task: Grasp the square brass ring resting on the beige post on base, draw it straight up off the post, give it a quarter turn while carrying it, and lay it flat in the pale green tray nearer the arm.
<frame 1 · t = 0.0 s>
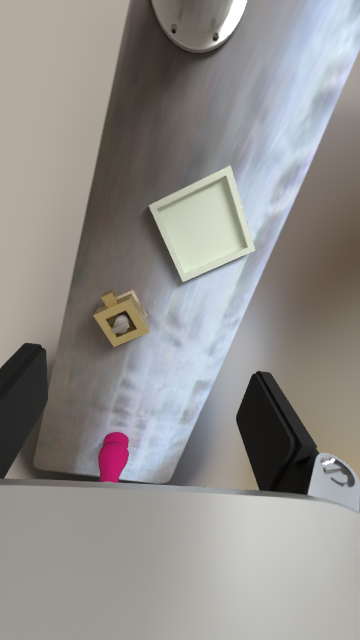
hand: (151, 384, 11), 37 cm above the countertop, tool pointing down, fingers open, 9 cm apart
ring: (123, 316, 46), point 4 cm above the countertop, touching beige post on base
beige post on base: (126, 308, 49), on the countertop
pepper mill: (116, 439, 66), on the countertop
tray: (202, 227, 44), on the countertop
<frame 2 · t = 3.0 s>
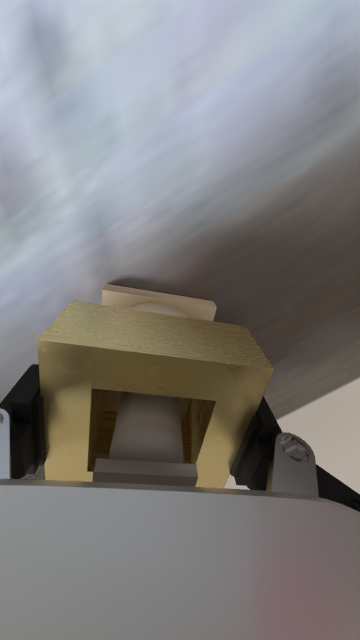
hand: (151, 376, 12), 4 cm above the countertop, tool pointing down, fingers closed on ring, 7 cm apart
ring: (151, 382, 11), point 4 cm above the countertop, touching gripper, beige post on base
beige post on base: (153, 339, 15), on the countertop
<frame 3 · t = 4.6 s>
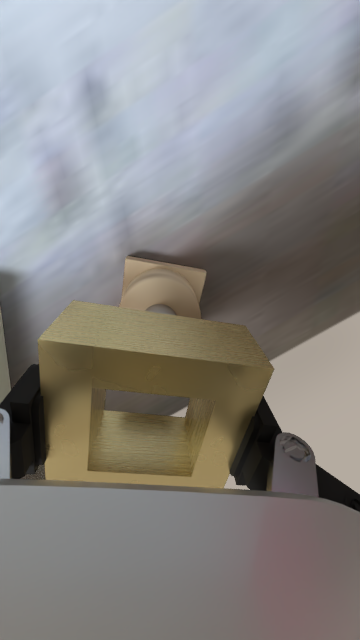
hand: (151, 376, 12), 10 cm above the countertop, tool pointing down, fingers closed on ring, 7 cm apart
ring: (151, 382, 11), point 10 cm above the countertop, touching gripper
beige post on base: (160, 298, 20), on the countertop
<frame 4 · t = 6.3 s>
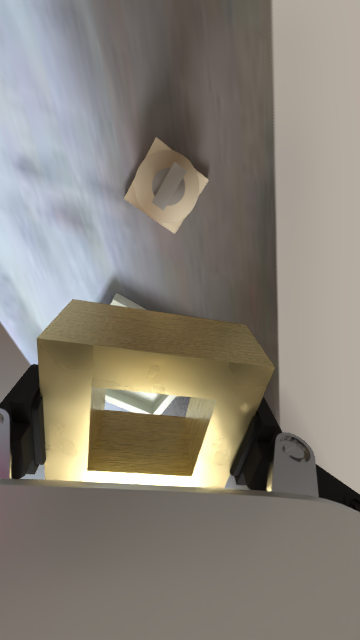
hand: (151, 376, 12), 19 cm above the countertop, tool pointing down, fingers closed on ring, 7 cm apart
ring: (151, 381, 11), point 19 cm above the countertop, touching gripper
beige post on base: (166, 189, 25), on the countertop
tray: (138, 358, 34), on the countertop
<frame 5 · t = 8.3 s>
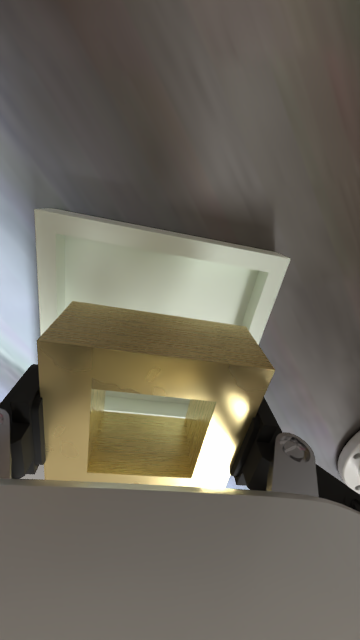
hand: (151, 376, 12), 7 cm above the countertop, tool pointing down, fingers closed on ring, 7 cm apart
ring: (151, 382, 11), point 7 cm above the countertop, touching gripper
tray: (154, 330, 18), on the countertop
when the fingers open (2 cm above the countertop, at t = 9.6 s): ring drops 2 cm, resting on tray.
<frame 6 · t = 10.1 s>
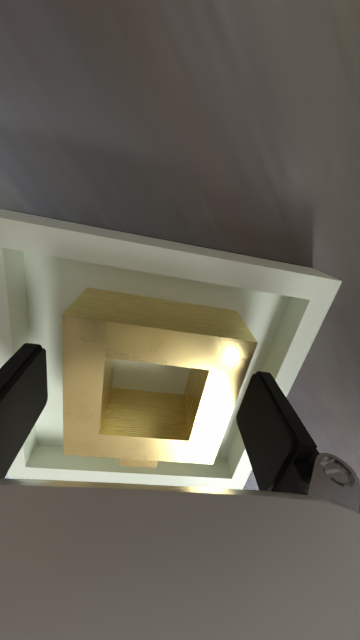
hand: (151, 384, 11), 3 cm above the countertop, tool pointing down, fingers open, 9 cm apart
ring: (153, 361, 13), point 1 cm above the countertop, touching tray
tray: (150, 367, 14), on the countertop
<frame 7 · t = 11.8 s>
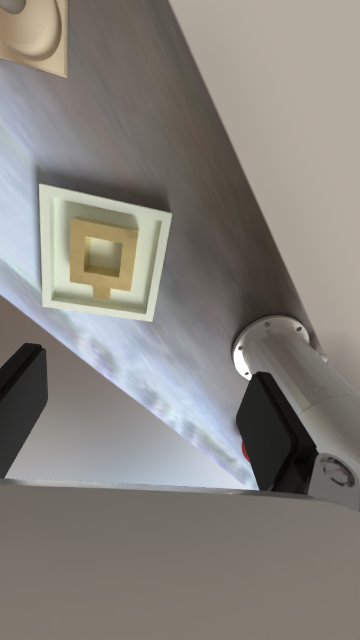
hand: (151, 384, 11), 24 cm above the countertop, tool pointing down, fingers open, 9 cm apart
ring: (106, 252, 31), point 1 cm above the countertop, touching tray
beige post on base: (31, 23, 22), on the countertop
tray: (106, 258, 32), on the countertop
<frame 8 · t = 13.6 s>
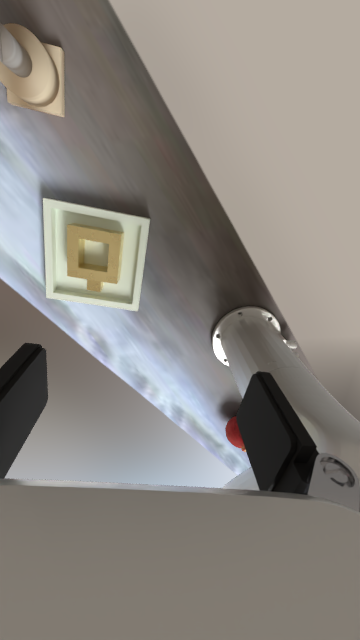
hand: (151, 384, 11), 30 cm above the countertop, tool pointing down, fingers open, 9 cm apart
ring: (98, 252, 37), point 1 cm above the countertop, touching tray
onion: (234, 416, 55), on the countertop
beige post on base: (37, 79, 29), on the countertop
tray: (98, 257, 38), on the countertop
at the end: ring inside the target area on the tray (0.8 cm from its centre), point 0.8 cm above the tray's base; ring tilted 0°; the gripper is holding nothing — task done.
